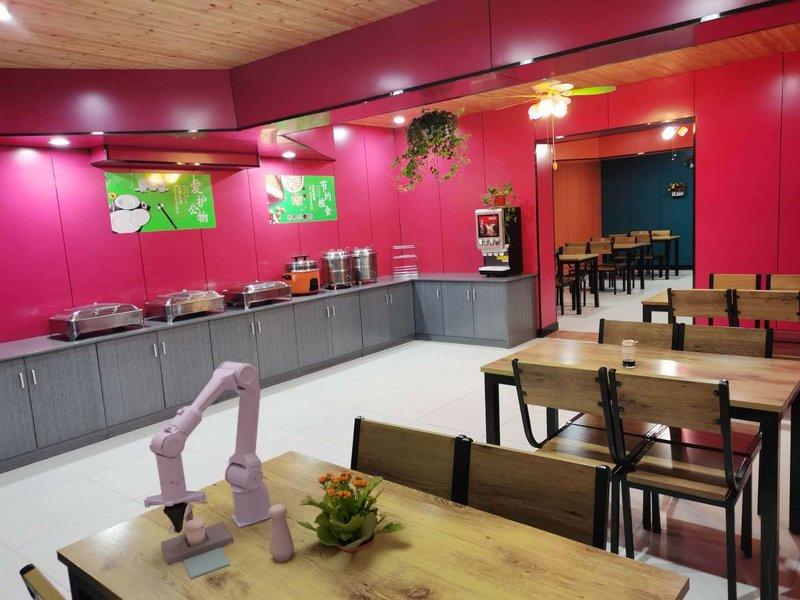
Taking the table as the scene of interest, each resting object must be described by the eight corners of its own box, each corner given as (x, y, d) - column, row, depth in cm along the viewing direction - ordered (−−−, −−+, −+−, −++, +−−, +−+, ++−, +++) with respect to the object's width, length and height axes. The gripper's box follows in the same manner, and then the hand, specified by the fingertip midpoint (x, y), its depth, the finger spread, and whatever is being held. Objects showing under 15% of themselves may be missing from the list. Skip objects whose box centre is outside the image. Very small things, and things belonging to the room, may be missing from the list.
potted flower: (421, 526, 148) (416, 461, 146) (380, 580, 127) (372, 505, 125) (338, 513, 159) (331, 452, 156) (287, 561, 137) (278, 491, 135)
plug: (205, 537, 152) (202, 515, 151) (210, 545, 148) (207, 523, 147) (185, 544, 149) (182, 522, 149) (189, 553, 145) (185, 530, 144)
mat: (220, 548, 146) (220, 547, 146) (229, 565, 138) (229, 563, 138) (183, 561, 141) (183, 560, 141) (191, 579, 133) (190, 577, 133)
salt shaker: (289, 564, 136) (283, 512, 134) (266, 563, 137) (260, 512, 136) (298, 550, 142) (292, 500, 140) (276, 550, 143) (270, 500, 141)
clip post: (194, 529, 157) (191, 507, 156) (195, 532, 155) (192, 510, 154) (186, 531, 156) (183, 510, 155) (188, 535, 154) (185, 513, 153)
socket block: (223, 526, 157) (223, 521, 157) (233, 542, 148) (232, 536, 148) (161, 547, 149) (160, 542, 149) (167, 565, 140) (167, 559, 140)
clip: (185, 508, 156) (184, 503, 156) (194, 507, 156) (193, 503, 156) (166, 534, 142) (166, 530, 142) (176, 533, 142) (175, 529, 142)
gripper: (135, 488, 138) (143, 542, 140) (195, 483, 138) (203, 536, 140) (148, 476, 145) (155, 526, 147) (205, 471, 145) (212, 521, 147)
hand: (179, 530), depth 144 cm, fingers closed
